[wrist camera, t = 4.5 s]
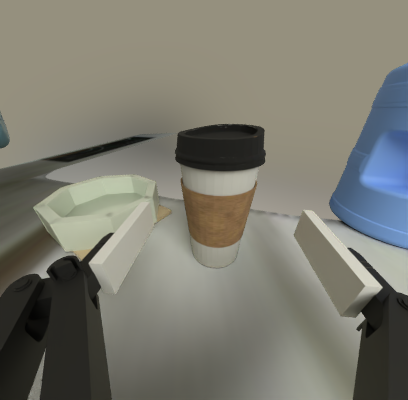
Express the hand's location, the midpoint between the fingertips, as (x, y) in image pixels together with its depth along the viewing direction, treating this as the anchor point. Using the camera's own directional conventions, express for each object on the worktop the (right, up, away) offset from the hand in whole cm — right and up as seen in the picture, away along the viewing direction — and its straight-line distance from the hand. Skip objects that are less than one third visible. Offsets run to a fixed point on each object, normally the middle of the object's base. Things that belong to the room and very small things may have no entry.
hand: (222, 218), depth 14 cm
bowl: (-17, -2, +13) cm, 22 cm away
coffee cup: (0, -5, +7) cm, 9 cm away
